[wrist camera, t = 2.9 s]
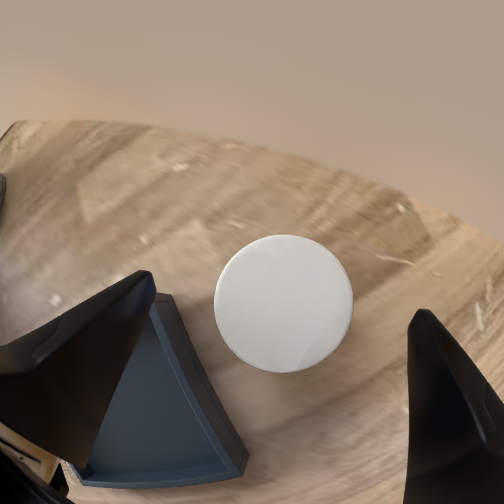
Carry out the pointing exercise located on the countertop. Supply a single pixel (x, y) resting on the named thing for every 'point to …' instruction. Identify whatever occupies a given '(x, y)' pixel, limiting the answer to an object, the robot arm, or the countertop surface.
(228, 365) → the countertop surface
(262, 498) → the countertop surface
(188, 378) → the tray
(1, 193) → the stone statue
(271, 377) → the countertop surface
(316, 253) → the pill bottle
